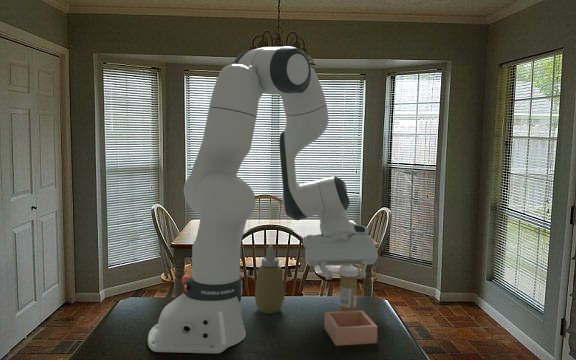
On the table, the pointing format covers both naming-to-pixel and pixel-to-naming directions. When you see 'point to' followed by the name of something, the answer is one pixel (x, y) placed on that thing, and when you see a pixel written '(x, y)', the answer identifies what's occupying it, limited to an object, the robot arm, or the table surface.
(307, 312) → the table surface
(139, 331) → the table surface
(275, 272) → the squeeze bottle
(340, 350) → the table surface
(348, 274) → the sprinkles bottle
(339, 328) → the terracotta socket
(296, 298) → the table surface
